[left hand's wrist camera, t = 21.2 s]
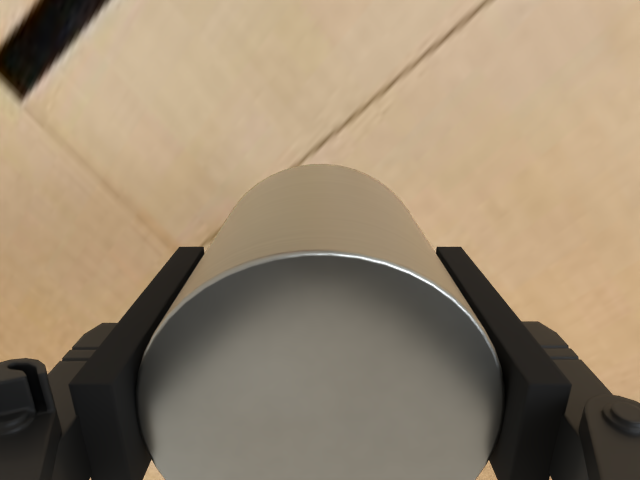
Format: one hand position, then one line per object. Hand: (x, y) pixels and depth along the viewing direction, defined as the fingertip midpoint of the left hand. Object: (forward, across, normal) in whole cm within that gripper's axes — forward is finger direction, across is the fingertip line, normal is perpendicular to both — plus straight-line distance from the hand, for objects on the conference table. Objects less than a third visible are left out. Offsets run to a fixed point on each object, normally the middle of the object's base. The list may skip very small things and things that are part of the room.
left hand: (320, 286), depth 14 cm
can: (+2, 0, 0) cm, 2 cm away
